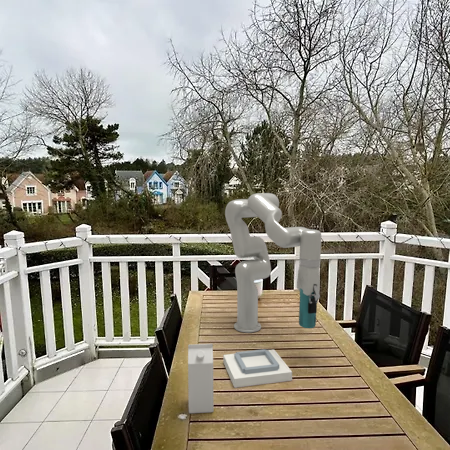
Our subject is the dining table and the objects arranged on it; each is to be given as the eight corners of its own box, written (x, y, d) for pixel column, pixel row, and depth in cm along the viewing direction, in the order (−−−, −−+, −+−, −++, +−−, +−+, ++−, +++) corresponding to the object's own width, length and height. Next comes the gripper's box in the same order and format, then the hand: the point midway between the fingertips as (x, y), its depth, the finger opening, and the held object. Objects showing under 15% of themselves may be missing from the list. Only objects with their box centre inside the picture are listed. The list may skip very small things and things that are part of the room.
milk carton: (189, 399, 106) (188, 339, 104) (212, 398, 107) (212, 338, 105) (188, 414, 99) (187, 350, 97) (213, 412, 100) (213, 349, 98)
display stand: (223, 362, 129) (223, 350, 129) (274, 357, 133) (274, 345, 133) (234, 387, 112) (234, 374, 112) (292, 380, 117) (292, 367, 116)
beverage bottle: (316, 333, 128) (318, 280, 125) (297, 331, 129) (300, 279, 127) (315, 326, 134) (317, 275, 132) (297, 324, 135) (299, 274, 133)
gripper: (290, 258, 136) (289, 302, 138) (310, 269, 119) (308, 319, 121) (308, 257, 138) (306, 301, 140) (330, 268, 121) (328, 317, 123)
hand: (307, 309), depth 131 cm, fingers closed on beverage bottle, 6 cm apart
